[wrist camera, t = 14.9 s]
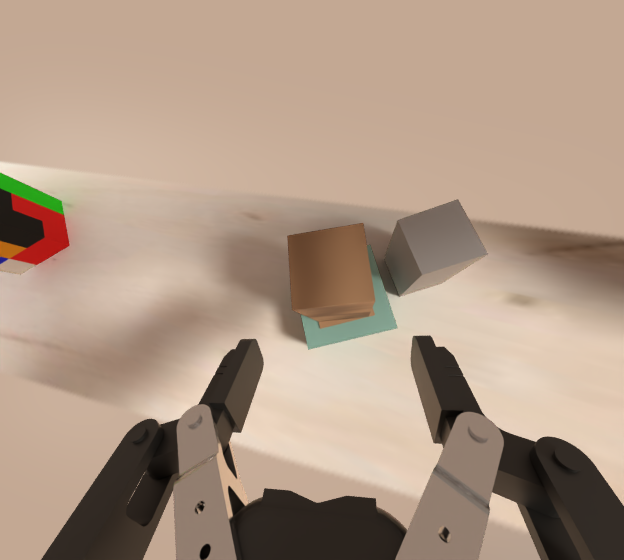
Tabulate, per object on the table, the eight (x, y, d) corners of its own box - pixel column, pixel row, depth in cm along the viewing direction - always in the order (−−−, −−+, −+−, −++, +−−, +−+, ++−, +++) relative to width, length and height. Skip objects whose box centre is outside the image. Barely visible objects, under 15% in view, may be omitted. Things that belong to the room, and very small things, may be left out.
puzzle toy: (21, 274, 40) (-85, 254, 30) (16, 228, 43) (-82, 197, 33) (69, 245, 39) (-23, 216, 30) (61, 201, 42) (-25, 161, 33)
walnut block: (361, 268, 24) (363, 222, 15) (368, 316, 23) (375, 300, 14) (314, 274, 25) (287, 235, 16) (318, 321, 24) (292, 310, 14)
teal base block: (367, 259, 30) (370, 243, 25) (390, 329, 27) (397, 328, 22) (300, 278, 31) (290, 266, 26) (316, 347, 28) (308, 349, 23)
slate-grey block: (424, 245, 29) (457, 199, 19) (441, 283, 27) (487, 254, 18) (384, 258, 29) (397, 220, 20) (399, 296, 28) (422, 274, 18)
